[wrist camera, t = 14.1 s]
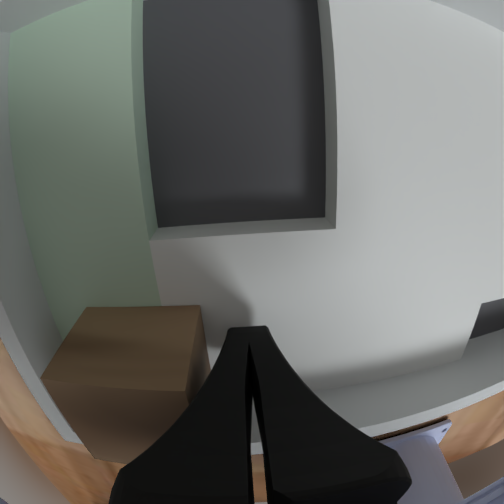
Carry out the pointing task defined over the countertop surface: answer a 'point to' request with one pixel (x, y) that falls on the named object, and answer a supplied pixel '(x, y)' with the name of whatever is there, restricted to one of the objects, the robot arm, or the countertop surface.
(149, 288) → the tray
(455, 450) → the countertop surface
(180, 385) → the walnut block
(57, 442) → the countertop surface
